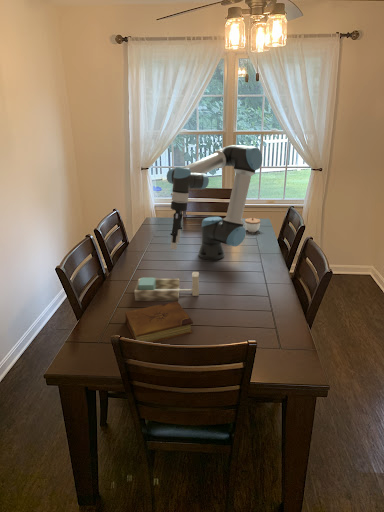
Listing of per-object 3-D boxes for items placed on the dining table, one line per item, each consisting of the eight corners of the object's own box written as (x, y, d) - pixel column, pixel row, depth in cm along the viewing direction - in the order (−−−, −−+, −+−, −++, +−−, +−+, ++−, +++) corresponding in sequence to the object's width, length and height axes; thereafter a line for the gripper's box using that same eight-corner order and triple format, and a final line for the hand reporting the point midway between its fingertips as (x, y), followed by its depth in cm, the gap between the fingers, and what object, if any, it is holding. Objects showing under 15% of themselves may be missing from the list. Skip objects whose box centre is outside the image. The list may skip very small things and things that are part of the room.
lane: (179, 287, 185) (179, 278, 183) (178, 300, 173) (178, 291, 171) (139, 287, 185) (138, 278, 183) (135, 300, 173) (134, 291, 171)
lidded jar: (250, 234, 257) (251, 221, 253) (241, 229, 266) (242, 217, 262) (262, 231, 261) (263, 218, 258) (253, 227, 270) (254, 215, 267)
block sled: (198, 289, 182) (198, 270, 178) (198, 297, 175) (198, 278, 171) (141, 289, 183) (140, 270, 179) (139, 297, 175) (137, 278, 171)
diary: (177, 311, 165) (176, 300, 163) (192, 334, 149) (193, 321, 147) (125, 322, 157) (124, 310, 155) (136, 347, 141) (135, 334, 139)
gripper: (174, 197, 185) (170, 238, 191) (168, 204, 161) (163, 251, 167) (189, 199, 185) (184, 240, 191) (185, 206, 161) (180, 253, 167)
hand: (175, 245), depth 179 cm, fingers open, 13 cm apart
